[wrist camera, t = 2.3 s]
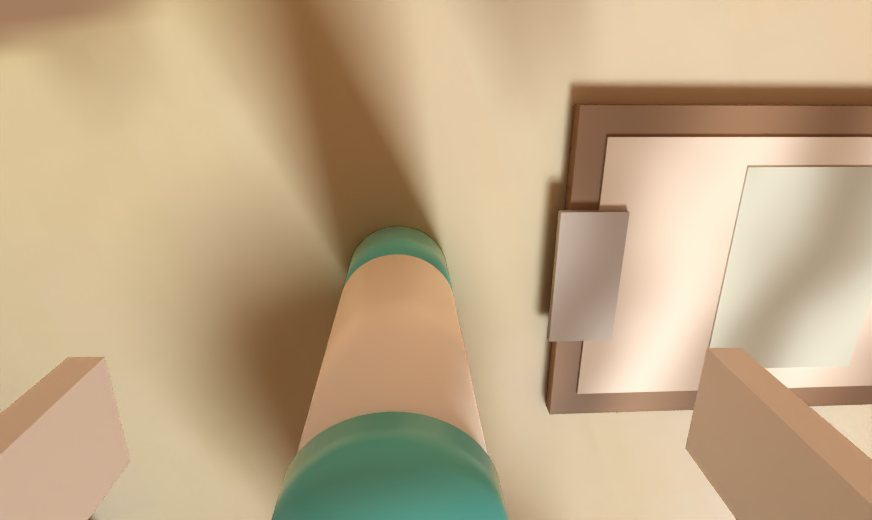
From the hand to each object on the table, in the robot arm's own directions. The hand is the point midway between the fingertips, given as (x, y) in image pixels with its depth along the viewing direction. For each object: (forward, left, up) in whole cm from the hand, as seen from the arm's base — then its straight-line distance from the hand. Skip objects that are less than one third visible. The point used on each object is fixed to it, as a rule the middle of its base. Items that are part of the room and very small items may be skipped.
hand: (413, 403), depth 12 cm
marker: (0, 0, -8) cm, 8 cm away
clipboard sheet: (+14, 0, -8) cm, 16 cm away
